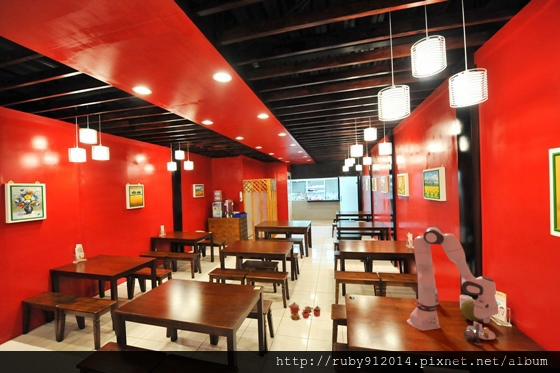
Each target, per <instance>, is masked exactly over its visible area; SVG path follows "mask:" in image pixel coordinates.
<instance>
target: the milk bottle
mask: <svg viewBox="0 0 560 373" xmlns="http://www.w3.org/2000/svg"><path fill="white" fill-rule="evenodd" d="M438 293H439V292H438V289H437V286H436V285H435V304H436V306H437V305H439V295H438Z"/></svg>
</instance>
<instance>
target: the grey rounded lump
mask: <svg viewBox="0 0 560 373" xmlns="http://www.w3.org/2000/svg"><path fill="white" fill-rule="evenodd" d="M463 336H464V338H465V339H466V340H467V341H468V342H474V341H476V332H475V331H473V330H471V329H467V328H466V330H465V331H464V333H463Z"/></svg>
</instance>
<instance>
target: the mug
mask: <svg viewBox="0 0 560 373" xmlns="http://www.w3.org/2000/svg"><path fill="white" fill-rule="evenodd" d="M469 300H470V301H475V300H476V299H473V297H472V296H470V295H468V294H467V295H466V294H461V295H459V307H460V309H461V304H462V303H464V302H465V301H469Z"/></svg>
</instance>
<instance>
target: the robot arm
mask: <svg viewBox="0 0 560 373" xmlns="http://www.w3.org/2000/svg"><path fill="white" fill-rule="evenodd" d="M431 245H441V246H442V248H443V251H444V254H446V256H447V258H448V259H449V260H450V262H452V263H454V264H455V265H456V268H457V269H458V272H459V274H460V278H461V279H460V281H461V289H462V290H463V292H465V293H466V294H467V295H469V296H470V295H471V296H478V297H477V298H476V299H474V300H475V301H474V305H475V306H474V316H475V317H476V318H478V319H483V320H482V321H483V323H484V324H488V323H490V320H491V317H492V316H495V315H498V314H499V305H498V303H497V300H496V299H497V298H496V293H497V289H496V288H497V284H496V282H495V281H494V279H492V278H490V277H489V276H486V275H485V276H484V275H481V276H478V277H476V276H475V275H474V274H472V272H471V270H470V268H469V266H468V264H467V261H466V253H465V250H464V247H463V246H462V244H461V242H460V240H459V239H458V237H456V235H455V234H453V233H443V231H442V229H441V228H440V227H438V226H435V225H433V226H432V225H431V226H429V227H427V228H426V229H425V230H424V233H423V235H422V236H421V235H420V236H416V237H415V238H414V240H413V251H414V253H413V254H414V259H415V264H416V273H417V295H418V296H417V297H418V299H417V300H418V301H417V303H416V302H414V305H413V306H414V307H415V308H414V310H413V311H412V312H411V313H410V316H409V318H408V319H407V320H406V322H407V323H408V325H409V326H411V327H413V328H414V329H416V330H419V331H430V330H435V329H436V330H437V329H440V328H441V326H440V324H439V317H438V313H437V305H436V304H435V286H436V278H435V274H434V273H435V272H434V265H433V264H434V263H433V257H432V247H431Z"/></svg>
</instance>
